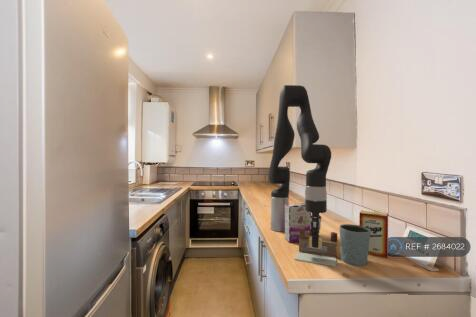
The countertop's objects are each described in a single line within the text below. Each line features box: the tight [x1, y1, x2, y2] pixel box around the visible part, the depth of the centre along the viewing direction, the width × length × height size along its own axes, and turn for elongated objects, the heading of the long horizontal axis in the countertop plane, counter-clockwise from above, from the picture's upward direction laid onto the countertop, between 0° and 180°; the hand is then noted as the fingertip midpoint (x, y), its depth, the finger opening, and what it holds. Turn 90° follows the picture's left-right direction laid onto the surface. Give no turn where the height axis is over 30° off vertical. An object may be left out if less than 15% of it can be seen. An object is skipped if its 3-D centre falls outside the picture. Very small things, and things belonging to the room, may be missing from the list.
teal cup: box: [339, 224, 371, 267], centre depth 85 cm, size 10×10×12 cm
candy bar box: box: [284, 202, 312, 243], centre depth 107 cm, size 11×5×16 cm, turn 105°
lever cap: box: [304, 237, 327, 253], centre depth 86 cm, size 4×8×4 cm, turn 69°
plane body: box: [298, 225, 338, 258], centre depth 94 cm, size 6×14×9 cm, turn 69°
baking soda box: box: [359, 210, 389, 258], centre depth 94 cm, size 10×6×16 cm
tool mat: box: [294, 251, 337, 267], centre depth 86 cm, size 7×14×1 cm, turn 69°
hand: (315, 245), depth 86 cm, fingers closed on lever cap, 3 cm apart
